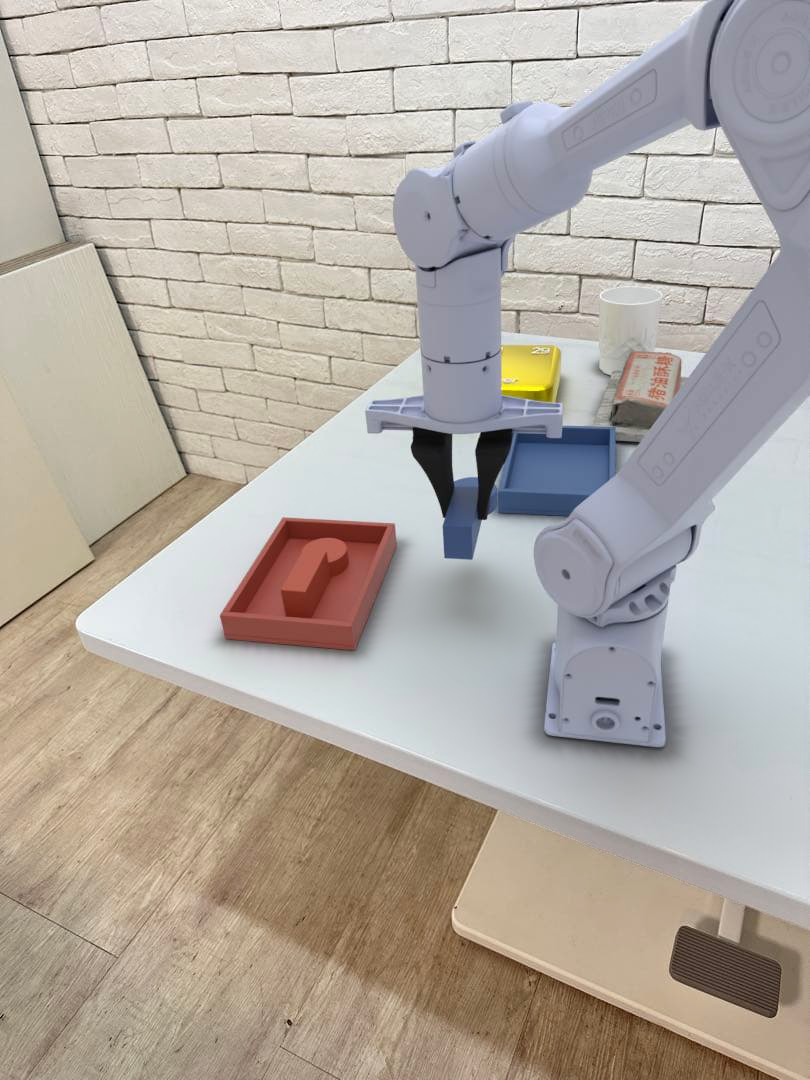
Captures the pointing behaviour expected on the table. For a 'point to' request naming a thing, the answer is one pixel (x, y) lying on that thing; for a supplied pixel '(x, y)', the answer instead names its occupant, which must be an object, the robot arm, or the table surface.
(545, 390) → the element tile
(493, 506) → the blue spoon
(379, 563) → the red tray
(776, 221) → the robot arm
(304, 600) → the red spoon
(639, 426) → the packaged product
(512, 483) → the blue tray
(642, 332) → the white cup
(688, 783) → the table surface
